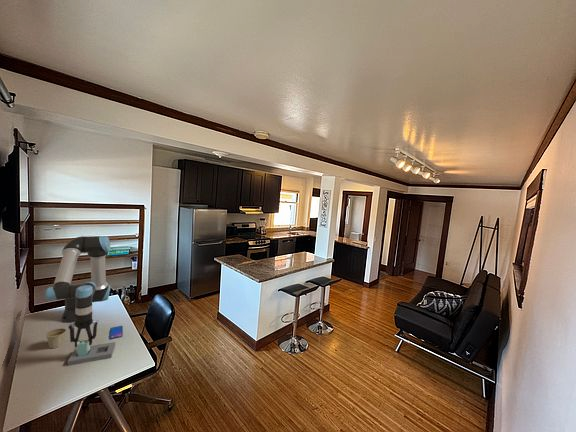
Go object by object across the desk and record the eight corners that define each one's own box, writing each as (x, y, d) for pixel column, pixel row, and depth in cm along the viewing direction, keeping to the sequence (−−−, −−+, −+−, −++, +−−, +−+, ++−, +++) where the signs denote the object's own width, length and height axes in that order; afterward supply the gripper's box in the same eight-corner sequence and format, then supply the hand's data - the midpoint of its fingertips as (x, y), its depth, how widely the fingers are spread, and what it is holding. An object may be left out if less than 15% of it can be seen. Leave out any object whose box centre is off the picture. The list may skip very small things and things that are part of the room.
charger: (80, 353, 143) (80, 339, 143) (88, 352, 145) (88, 338, 145) (77, 358, 140) (78, 343, 139) (86, 356, 142) (86, 342, 141)
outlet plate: (75, 352, 146) (75, 348, 146) (115, 345, 155) (115, 341, 155) (67, 365, 135) (67, 361, 135) (111, 357, 144) (111, 353, 144)
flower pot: (60, 339, 156) (60, 326, 155) (70, 343, 153) (70, 330, 153) (41, 347, 147) (41, 334, 147) (51, 352, 145) (51, 338, 144)
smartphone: (122, 325, 176) (122, 336, 164) (122, 326, 177) (122, 337, 164) (110, 327, 172) (109, 338, 160) (110, 328, 172) (109, 340, 160)
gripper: (62, 318, 133) (62, 358, 136) (100, 313, 141) (99, 351, 143) (67, 311, 140) (67, 349, 142) (103, 307, 148) (102, 344, 150)
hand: (83, 350), depth 143 cm, fingers closed on charger, 4 cm apart
